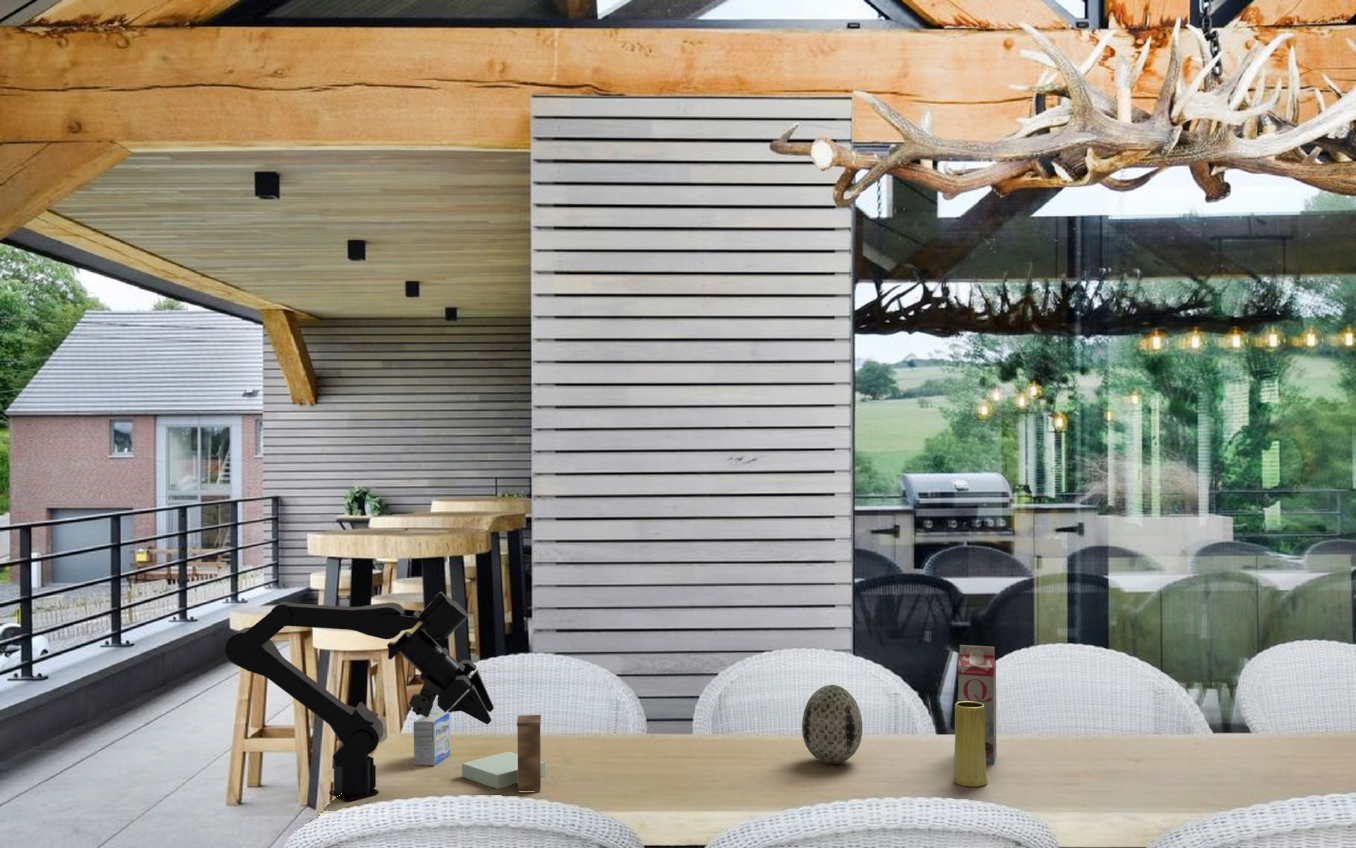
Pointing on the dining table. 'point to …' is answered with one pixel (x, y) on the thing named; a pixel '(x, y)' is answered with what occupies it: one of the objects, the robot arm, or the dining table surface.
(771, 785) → the dining table surface
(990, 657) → the juice carton
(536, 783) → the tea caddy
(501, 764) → the plate
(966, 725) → the vase
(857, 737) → the decorative egg
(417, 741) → the medicine box
